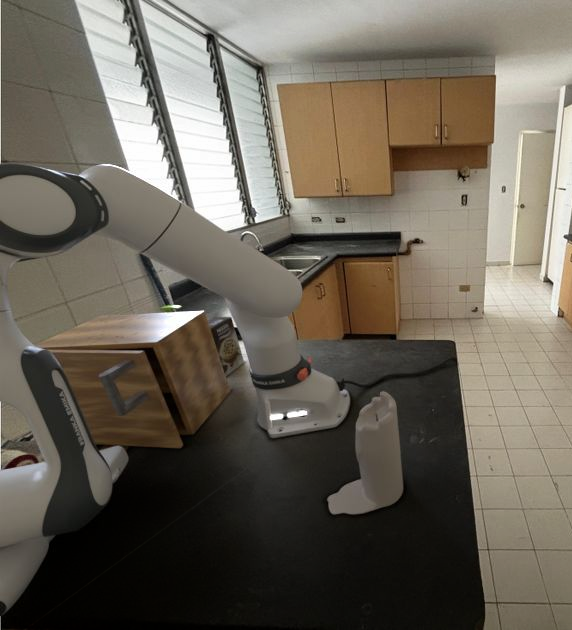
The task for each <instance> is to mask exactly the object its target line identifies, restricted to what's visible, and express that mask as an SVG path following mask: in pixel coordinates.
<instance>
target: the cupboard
mask: <svg viewBox="0 0 572 630" xmlns="http://www.w3.org/2000/svg"><path fill="white" fill-rule="evenodd" d="M208 320H209V319H208V316H207V314H206V311H205V310H194V311H193V310H192V311H172V312H168V313H165V312H151V313H150V312H147V313H129V314H127V313H126V314H107V315H105V314H104V315H98V316H96V317H93V318H92V319H89V320H88V321H85V322H83V323H80V324H78V325H76V326H74V327H72V328H70V329H68V330H65V331H63V332H61V333H58V334H57V335H54V336H52V337H50V338H47V339H46V340H43V341H41V342H39V343H36V344H34V345H35V346H36V347H39V348H42V349H45V350H113V351H144V352H145V354H146V357H147V359H148V361H149V364H150V366H151V369H152V371H153V373H154V376H155V378H156V381H157V383H158V385H159V388H160V390H161V393H162V395H163V397H164V400H165V402H166V405H167V407H168V409H169V412H170V414H171V416H172V419H173V421H174V424H175V426H176V428H177V431H178V433H179V436H188V435H189V436H192V435H194V434H195V433H196V432H197V431H198V430H199V429H200V427H201V426H202V425H203V424H204V423H205V421H206V420H207V419H208V418H209V417H210V416H211V415H212V413H213V412H214V411H215V410H216V409H217V408H218V407H219V406H220V404H221V403H222V402H223V400H225V399H226V397H227V396H228V394H230V393H231V389H230V386H229V382H228V380H227V376H225V373H224V370H223V367H222V364H221V361H220V358H219V354H218V351H217V348H216V345H215V342H214V339H213V336H212V333H211V329H210V326H209V323H208Z"/></svg>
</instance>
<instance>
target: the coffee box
mask: <svg viewBox="0 0 572 630" xmlns="http://www.w3.org/2000/svg"><path fill="white" fill-rule="evenodd" d="M207 320H208V323H209V326H210V329H211V333H212V336H213V339H214V342H215V345H216V348H217V351H218V354H219V358H220V361H221V364H222V367H223V370H224V373H225V376H226V377H227V376H229V375H230V374H231V373H233V372H234V371H235V370H236V369H239V367H240V366H241V365H243V364H244V363H245V360H244V357H243V353H242V350H241V346H240V343H239V339H238V336H237V332H236V328H235V325H234V320H233V317H232V316H214V317H212V318H210V319H207Z"/></svg>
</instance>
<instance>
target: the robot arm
mask: <svg viewBox="0 0 572 630" xmlns="http://www.w3.org/2000/svg"><path fill="white" fill-rule="evenodd" d="M92 235H97V236H101V237H105V238H108V239H110V240H113V241H118V242H119V243H121V244H123V245H125V246H126V247H128V248H129V249H132V250H134V251H135V252H137V253H139V254H140V255H142V256H145V257H147V258H149V259H150V260H152V261H154V262H156V263H158V264H160V265H161V266H164V267H166V268H168V269H170V270H172V271H174V272H175V273H177V274H179V275H181V276H183V277H184V278H187V279H188V280H191V281H192V282H194V283H195V284H198V285H200V286H202V287H203V288H206V289H208V290H209V291H211V292H213V293H215V294H216V295H218V296H220V297H222V298H224V300H225V304H226V305H227V309H228V310H229V313H230V315H231V317H232V321H233V323H234V324H235V326H236V328H237V331H238V332H239V335H240V337H241V340H242V343H243V346H244V350H245V354H246V357H247V360H248V364H249V369H248V370H249V371H248V372H249V374H250V379H251V382H252V385H253V387H254V388H255V393H256V399H257V418H256V420H257V423H258V425H259V427H261V428H262V429H264V430H266V431H267V434H268V436H269V437H270V438H271V439H277V438H281V437H282V438H283V437H287V436H294V435H300V434H304V433H305V434H306V433H311V432H316V431H322V430H327V429H328V430H329V429H333V428H336V427H338V426H339V425H341V423H342V422H343V421H344V420H345V418H346V417H347V415H348V413H349V411H350V406H351V396H350V393H349V391H348V390H347V389H345V387H346V384H350V385H353V386H356V387H359V388H368V387H372V386H374V385H376V384H377V383H379V382H381V381H382V380H384V379H386V378H390V377H394V376H395V377H397V376H415V375H421V374H424V373H427V372H430V371H432V370H434V369H436V368H439V367H442V366H443V365H444V364H446V363H447V362H449V361H450V360H452V361H453V360H454V361H457V358H456V357H454V356H450V357H448V358H447V357H446V358H445V359H444V360H443V361H441V362H440V363H438V364H435V365H433V366H430V367H428V368H426V369H422V370H418V371H414V372H394V373H388V374H385V375H383V376H380V377H379V378H377V379H376V380H374V381H372V382H370V383H366V384H364V383H358V382H357V381H356V382H355V381H353V380H345V377H335V376H329V375H327V374H325V373H322V372H321V371H318V370H316V369H314V368H312V367H311V364H312V363H313V362H312V357H311V356H310V357H309V358H308V360H307V359H305V358H304V356H303V355H302V354H301V352H300V347H299V343H298V342H299V341H298V338H297V337H298V336H297V332H296V329H295V326H294V324H293V322H292V321H291V320H290V318H289V316H290V315H291V314H293V313H294V312H295V311H296V310H297V309H298V308H299V307H300V304H301V302H302V299H303V287H302V283H301V282H300V280H299V279H298V277H297V276H296V275H295V274H294V273H293V272H291V271H290V270H289V269H287V268H286V266H285V267H284V266H283V265H282V264H281V263H279V262H276V261H275V260H274V259H272V258H270V257H269V256H267V255H265V254H264V253H263V252H261V251H260V250H257V249H256V248H254V247H253V246H251V245H250V244H248V243H246V242H244V241H242V240H241V239H239V238H237V237H236V236H234V235H233V234H230V233H229V232H227V231H225V230H224V229H223V228H221V227H219V225H216V224H215V223H213V222H212V221H211V220H209V219H208V218H206V216H203V215H202V214H201V213H199V212H198V211H196V210H194V209H192V207H190V206H188V205H187V204H185V203H184V202H183V201H181V200H179V199H178V198H176V197H175V196H173V195H172V194H170V193H168V192H167V191H166V190H164V189H162V188H161V187H159V186H157V185H155V184H154V183H152V182H150V181H148V180H146V179H145V178H143V177H140V176H138V175H137V174H135V173H133V172H130V171H129V170H126V169H125V168H122V167H119V166H117V165H113V164H105V163H103V164H96V165H93V166H91V167H89V168H87V169H85V170H83V171H81V172H80V173H79V174H75V173H69V172H66V171H65V172H64V171H61V170H60V171H59V170H54V169H49V168H45V167H41V166H37V165H31V164H25V163H16V162H15V163H14V162H2V163H1V162H0V402H1V403H3V404H6V405H9V406H11V407H13V408H14V409H16V411H18V412H19V413H20V414H21V415H22V416H23V417H24V418H25V421H26V423H27V425H28V427H29V430H30V432H31V434H32V436H33V438H34V440H35V442H36V445H37V447H38V449H39V451H40V454H41V456H42V458H43V460H44V461H43V462H37V463H32V464H25V465H22V466H21V465H20V466H16V467H10V468H6V469H5V468H4V469H0V618H1V617H2V616H4V615H5V614H6V613H7V612H8V611H9V610H10V609H12V607H13V606H14V605H15V604H16V602H17V601H18V600H19V599H20V597H21V596H22V595H23V593H24V592H25V590H27V588H28V587H29V585H30V583H31V582H32V580H33V579H34V577H35V575H36V573H38V570H39V568H40V567H41V565H42V563H43V562H44V559H45V558H46V556H47V554H48V551H49V546H50V542H51V541H53V539H54V538H55V537H56V536H58V535H63V534H69V533H74V532H78V531H79V530H81V529H83V527H85V526H87V524H89V523H90V522H92V520H93V519H95V518H96V517H97V516H99V514H100V513H101V512H102V511H103V510H104V509H105V507H106V506H107V505H108V504H109V502H110V500H111V497H112V494H113V484H114V483H115V482H116V481H117V480H118V479H119V478H120V476H121V474H122V473H123V471H124V470H125V468H126V466H127V464H128V462H129V455H128V453H127V451H126V450H125V448H124V447H123V446H121V445H113V446H111V447H107V448H104V449H99V448H98V447H97V444H95V443H94V440H93V438H92V436H91V433H90V431H89V428H88V426H87V424H86V421H85V419H84V416H83V414H82V411H81V409H80V407H79V404H78V402H77V399H76V397H75V395H74V392H73V390H72V388H71V385H70V383H69V381H68V379H67V377H66V375H65V373H64V371H63V369H62V367H61V365H60V363H59V362H58V360H57V359H56V358H55V356H54V355H53V354H52V353H51V352H50V351H48V350H45V349H42V348H39V347H36V346H35V345H36V344H33V343H32V342H31V341H30V340H29V339H28V338H27V337H26V336H25V335H24V334H23V332H22V331H21V330H20V328H19V327H18V325H17V323H16V321H15V319H14V316H13V313H12V312H13V311H12V306H11V302H10V297H9V292H8V291H9V290H8V277H9V272H10V270H11V268H12V267H13V266H14V264H16V263H21V262H27V261H32V260H37V259H42V258H49V257H53V256H58V255H60V254H64V253H65V252H68V251H69V250H71V249H72V248H73V247H75V246H76V245H79V244H80V243H81V242H83V241H84V240H86V239H87V238H89V237H90V236H92Z"/></svg>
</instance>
